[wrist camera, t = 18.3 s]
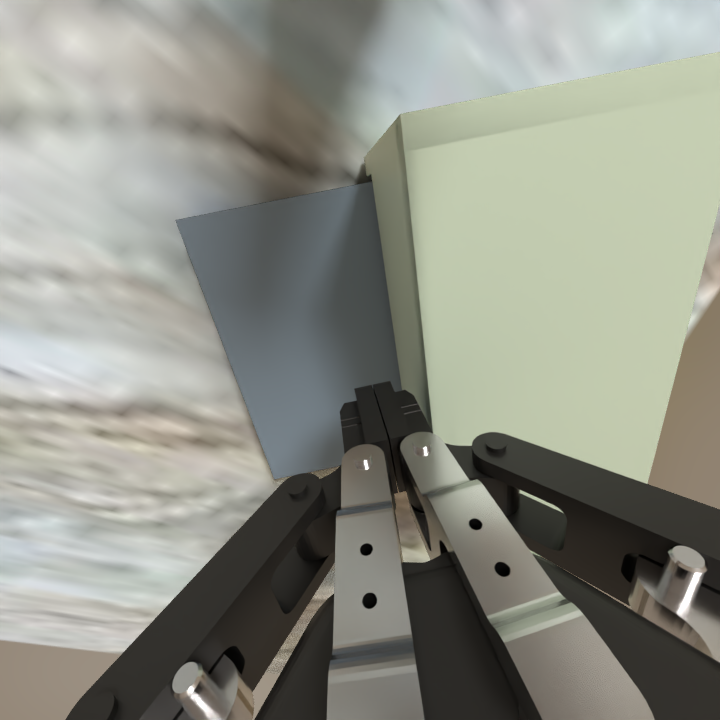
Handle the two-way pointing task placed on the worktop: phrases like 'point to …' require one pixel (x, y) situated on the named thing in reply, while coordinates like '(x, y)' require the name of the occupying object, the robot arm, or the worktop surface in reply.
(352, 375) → the base
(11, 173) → the worktop surface
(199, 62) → the worktop surface
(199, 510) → the worktop surface
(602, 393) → the cover
